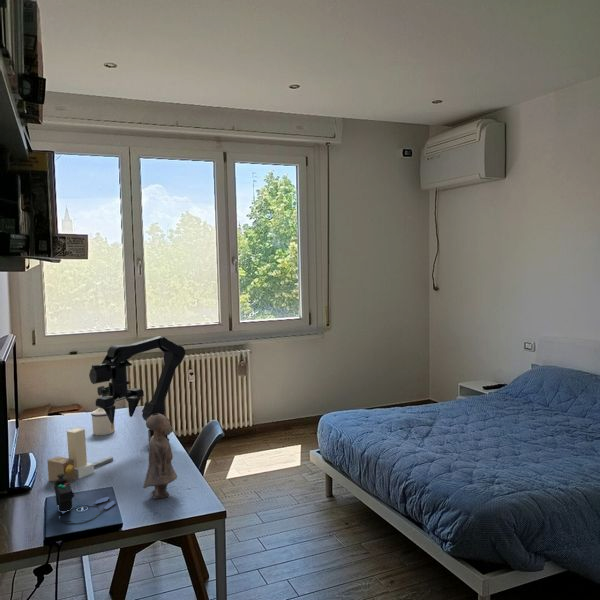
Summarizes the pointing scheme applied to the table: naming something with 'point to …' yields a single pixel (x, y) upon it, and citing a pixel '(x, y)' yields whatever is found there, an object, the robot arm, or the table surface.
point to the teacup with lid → (101, 423)
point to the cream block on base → (78, 452)
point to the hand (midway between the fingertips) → (121, 419)
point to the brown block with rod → (67, 467)
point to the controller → (63, 493)
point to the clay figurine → (159, 457)
